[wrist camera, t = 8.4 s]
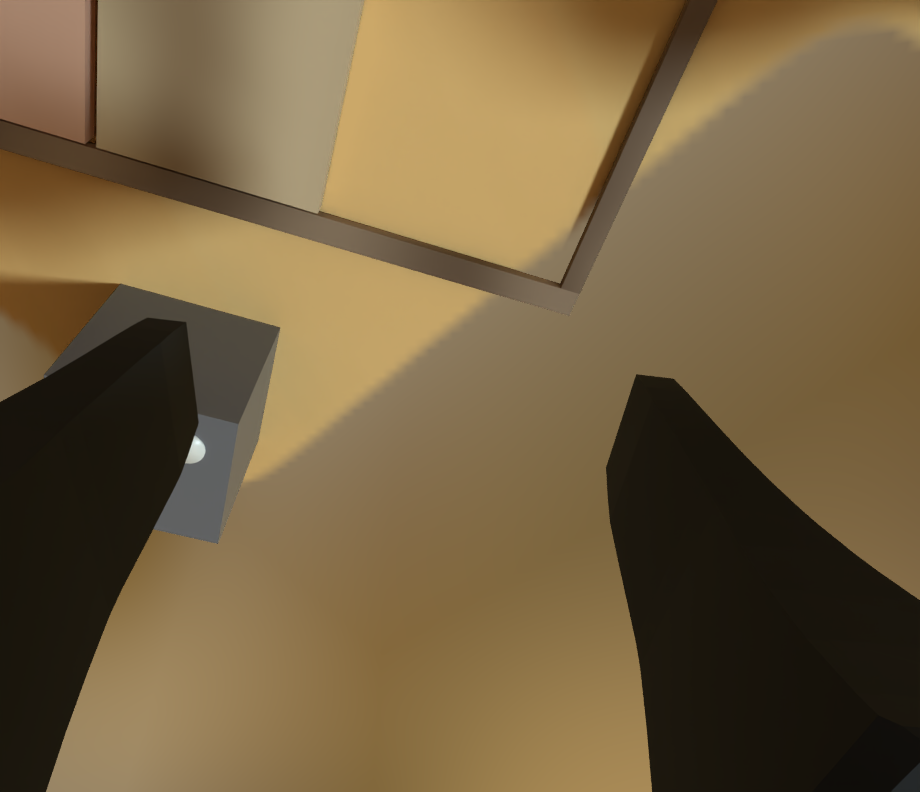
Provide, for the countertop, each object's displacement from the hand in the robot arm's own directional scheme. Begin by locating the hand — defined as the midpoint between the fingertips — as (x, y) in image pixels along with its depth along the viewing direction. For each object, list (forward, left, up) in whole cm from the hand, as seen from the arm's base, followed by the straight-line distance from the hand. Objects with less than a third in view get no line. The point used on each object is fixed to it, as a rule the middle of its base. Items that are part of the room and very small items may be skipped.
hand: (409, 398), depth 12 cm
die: (+6, +9, -10) cm, 15 cm away
